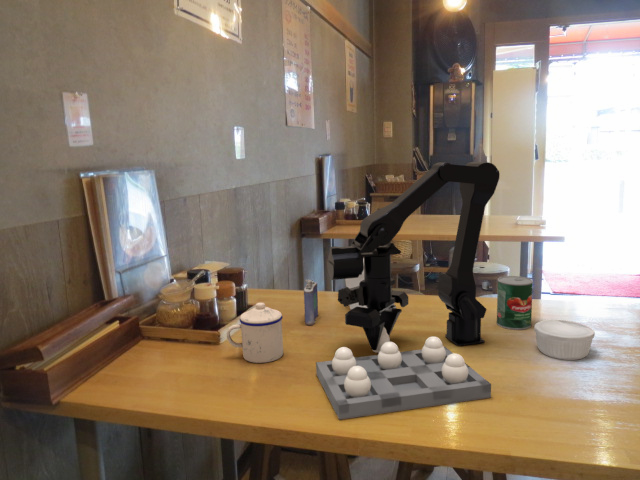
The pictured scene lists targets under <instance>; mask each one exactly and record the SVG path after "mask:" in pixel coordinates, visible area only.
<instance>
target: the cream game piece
mask: <svg viewBox="0 0 640 480" xmlns="http://www.w3.org/2000/svg"><path fill="white" fill-rule="evenodd" d="M385 342H391V340H390V336H389V335H388V334H387V331H386V329H385V327H383V330H382V334H381V337H380V341H379V344H378V347H377V350H372V352H373V353H376V354H379V352H380V350H381V347H382V345H383V344H384V343H385Z"/></svg>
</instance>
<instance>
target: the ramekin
mask: <svg viewBox="0 0 640 480" xmlns="http://www.w3.org/2000/svg"><path fill="white" fill-rule="evenodd" d="M533 327H534V329H533V330H534V333H535V339H536V345H537V347H538V350H539V351H540V352H541V353H542V354H544V355H545V356H548V357H550V358H554V359H558V360H564V361H565V360H566V361H576V360H581V359H584V358H585V357H587V356H588V355H589V354H590V350H591V346H592V342H593V339H594V338H595V330H594V329H593V328H592V327H590V326H588V325H587V324H583V323H581V322H577V321H573V320H566V319H545V320H541V321H538V322H536V323H535V324H534V326H533Z"/></svg>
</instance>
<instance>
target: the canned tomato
mask: <svg viewBox="0 0 640 480" xmlns="http://www.w3.org/2000/svg"><path fill="white" fill-rule="evenodd" d="M533 282H534V281H533V279H531V278H530V277H526V276H525V277H524V276H519V275H506V276H500V277H498V278H497V290H496V291H497V293H496V294H497V295H496V296H497V299H496V302H497V303H496V324H497V326H498V327H501V328H502V329H507V330H516V331H517V330H518V331H519V330H521V331H522V330H527V329H528V330H529V329H530V328H531V327H532V314H533V313H532V310H533V307H532V306H533V284H534V283H533Z"/></svg>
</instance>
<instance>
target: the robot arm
mask: <svg viewBox="0 0 640 480" xmlns="http://www.w3.org/2000/svg"><path fill="white" fill-rule="evenodd" d="M499 181H500V170H499V169H498V168H497V166H496V165H495V164H494V163H492V162H485V161H484V162H483V161H481V162H480V161H479V162H478V161H471V162H467V163H466V164H465V165H462V164H452V163H450V162H436V163H434V164H433V165H432V166H431V167H430V168H429V170H427V172H425V173H424V174H423V175H422V176H421V177H419V178H418V180H416V181H415V182H414V183H413V184H412V185H411V186H410V187H408V188H407V189H406V190H405V191H404V192H403V193H401V194H400V195H399V196H398V197H397V198H395V200H393V201H392V202H391V203H390V204H389V203H388V205H386V206H384V207H382V208H381V207H380V208H379V209H377V210H375V211H374V212H372V213H370V214H368V215H367V216H365V217H364V218H363V219H362V220H361V222H360V228H359V231H358V233H357V234H356V236H355V237H354V239H353V240H352V242H351V243H350V246H349V245H348V246H347V245H346V246H334V245H333V246H330V247H329V253H328V256H327V257H328V258H327V261H326V265H327V266H326V267H327V272H328V276H329V279H330V281H335V280H336V281H337V280H345V279H349V278H358V277H359V275H362V272H363V269H364V280H362V281H360V283H359V286H357V287H353V288H350V289H349V288H348V287H343V288H339V290H338V291H337V302H339V304H340V305H343V307H344V308H346V307H348V306H349V305H351V304H354V303H358V302H359V305H360V306H364V305H365V306H367V307H368V308H363V307H355V308H353V309H350V310H348V311H347V312H346V313H345V314H344V323H345V325H347V326H352V327H359V328H362V329H363V331H364V333H365V337H366V338H367V342H368V345H369V347H370V349H371V350H372V351H373V350H377V347H378V344H379V341H380V337H381V334H382V330H383V327H385V329H386V331H387V334H388V335H389V337H390V336H391V333H392V331H393V328H394V327H395V326H396V323H397V321H398V318H399V316H400V314H401V313H402V308H405V307H406V306H408V305H409V296H408V294H407V293H406V292H405V291H400V290H392V286H393V285H395V284H396V279H395V278H392V255H393V256H395V255H401V254H402V251H401V250H400V249H399V248H398V247H397V246H396V245H395V244H394V242H392V241H393V240H394V239H395V237H396V236H397V235H398V233H399V232H400V231H401V229H402V227H403V225H404V223H405V221H406V220H407V219H408V218H409V217H410V216H411V215H412V214H413V213H415V212H416V211H417V210H418V209H419V208H420V207H421V206H422V205H424V204H425V203H426V202H427V201H428V200H429V199H430V198H431V197H433V196H434V195H435V194H436V193H437V192H438V191H439V190H441V189H442V188H443V187H444V186H445V185H446V184H447V183H450V182H453V183H459V191H460V195H461V196H460V197H461V202H462V205H461V210H460V214H459V221H458V225H457V232H456V237H455V241H454V246H453V247H454V248H453V252H452V258H451V263H450V266H449V268H447V271H446V272H442V271H440V272H439V275H438V283H437V285H436V287H435V290H437V291H438V292H437V294H438V298H439V300H440V301H441V302H442V303H444V305H445V307H446V309H447V310H448V311H450V312H448V319H446V334H445V336H444V337H445V338H447V339H448V340H450V341H451V342H452V343H453V344H454V345H456V346H459V347H463V346H469V345H476V344H477V345H478V344H484V343H485V339H483V338H482V337H481V333H482V331H481V329H482V319H484V318H485V315H486V313H487V308H486V307H485V306H484V305H483V304H482V303H481V302H480V301H479V300H478V299H477V283H476V279H475V275H474V274H475V273H474V267H475V261H476V258H477V257H476V255H477V252H478V248H479V247H478V245H479V240H480V235H481V231H482V226H483V221H484V214H485V209H486V206H487V204H488V202H489V201H490V200H491V199H492V197H493V196H494V195H495V191H496V189H497V187H498V184H499ZM363 258H364V263H363ZM395 304H399V305H400V307H401V308H397V306H396V305H395Z"/></svg>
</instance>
